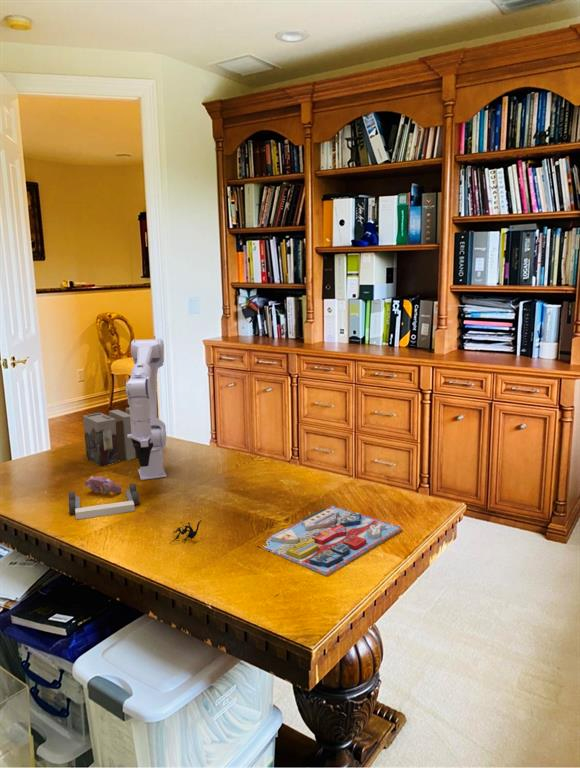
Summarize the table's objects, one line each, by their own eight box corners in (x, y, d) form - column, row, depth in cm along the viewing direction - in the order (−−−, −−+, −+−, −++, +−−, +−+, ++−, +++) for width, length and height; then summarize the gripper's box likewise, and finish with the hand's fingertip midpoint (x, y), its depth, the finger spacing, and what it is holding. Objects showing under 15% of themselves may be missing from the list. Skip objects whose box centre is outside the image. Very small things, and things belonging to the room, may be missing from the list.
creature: (163, 546, 151) (186, 547, 147) (158, 525, 151) (182, 525, 146) (185, 534, 157) (208, 534, 153) (180, 514, 157) (203, 513, 153)
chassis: (69, 502, 176) (68, 490, 175) (135, 493, 182) (134, 481, 182) (69, 520, 164) (68, 508, 163) (140, 510, 170) (139, 498, 169)
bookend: (165, 453, 220) (162, 409, 216) (98, 469, 204) (94, 422, 201) (145, 443, 232) (142, 402, 228) (80, 458, 216) (76, 413, 213)
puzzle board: (332, 509, 170) (332, 500, 170) (402, 533, 155) (403, 523, 154) (253, 547, 148) (252, 537, 148) (326, 580, 133) (326, 568, 132)
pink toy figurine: (88, 497, 184) (80, 481, 180) (97, 486, 187) (88, 469, 183) (115, 501, 180) (107, 485, 176) (123, 490, 184) (115, 473, 180)
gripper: (124, 414, 182) (127, 458, 185) (128, 426, 169) (131, 473, 172) (148, 412, 184) (151, 455, 187) (154, 424, 171) (157, 470, 174)
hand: (143, 463), depth 180 cm, fingers open, 4 cm apart
